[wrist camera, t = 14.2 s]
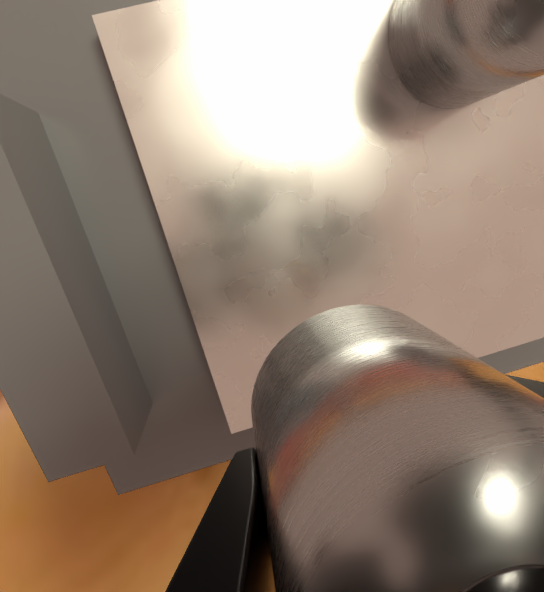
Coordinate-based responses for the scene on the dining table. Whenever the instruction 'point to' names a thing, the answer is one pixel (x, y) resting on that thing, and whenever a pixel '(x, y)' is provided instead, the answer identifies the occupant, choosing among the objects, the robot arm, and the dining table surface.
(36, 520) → the dining table surface
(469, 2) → the cylinder
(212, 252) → the kitchen scale
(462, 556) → the steel spacer
